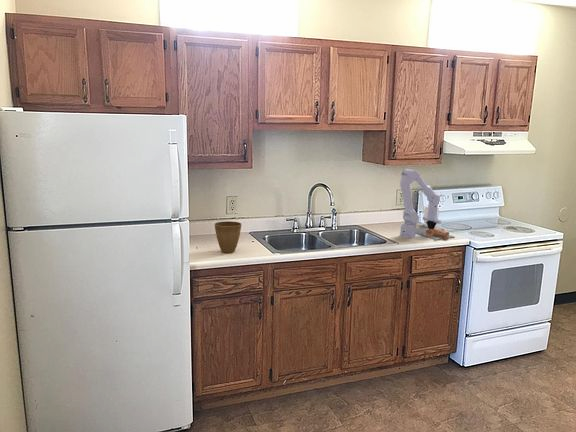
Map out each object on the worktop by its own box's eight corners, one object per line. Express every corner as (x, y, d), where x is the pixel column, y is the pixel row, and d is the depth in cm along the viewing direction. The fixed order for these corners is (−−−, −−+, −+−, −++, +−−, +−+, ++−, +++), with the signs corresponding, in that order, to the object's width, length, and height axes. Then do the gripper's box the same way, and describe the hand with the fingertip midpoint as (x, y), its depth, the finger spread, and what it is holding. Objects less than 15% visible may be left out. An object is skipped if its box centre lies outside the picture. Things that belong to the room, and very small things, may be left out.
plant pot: (245, 253, 268) (246, 225, 265) (220, 256, 260) (220, 227, 257) (234, 246, 280) (234, 219, 277) (210, 249, 273) (210, 222, 270)
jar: (438, 228, 341) (440, 207, 338) (423, 227, 342) (425, 206, 339) (436, 225, 351) (438, 205, 348) (421, 224, 353) (423, 204, 350)
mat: (435, 240, 306) (435, 239, 305) (402, 231, 330) (402, 230, 330) (454, 237, 315) (454, 236, 314) (421, 228, 339) (421, 227, 339)
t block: (440, 239, 306) (440, 233, 305) (425, 235, 316) (426, 229, 315) (453, 237, 312) (453, 231, 311) (438, 233, 322) (439, 227, 321)
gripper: (445, 213, 313) (443, 233, 316) (428, 209, 325) (426, 229, 328) (437, 214, 310) (436, 235, 312) (420, 210, 322) (419, 230, 325)
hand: (430, 232), depth 320 cm, fingers closed
